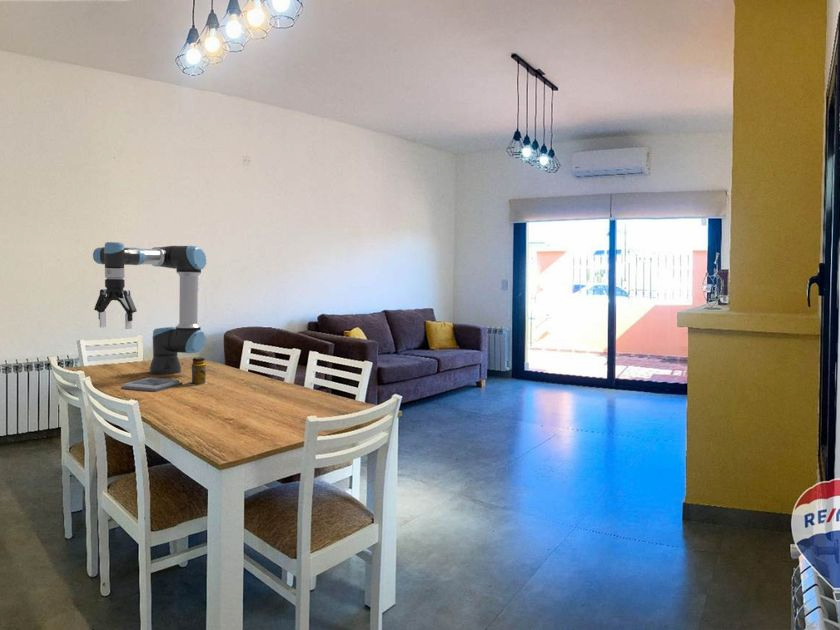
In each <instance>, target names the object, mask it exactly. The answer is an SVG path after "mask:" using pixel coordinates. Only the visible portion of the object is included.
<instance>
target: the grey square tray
mask: <svg viewBox="0 0 840 630" xmlns="http://www.w3.org/2000/svg"><path fill="white" fill-rule="evenodd" d="M183 383H184V382H181V381H180V380H179V379H171V378H159V377H146V378H141V379H139V380H134V381H130V382H126V383H124V385H121V387H120V388H121V389H124V390H131V391H132V390H133V391H140V392H141V391H142V392H151V391H153V392H154V393H155V392H160V391H163V390H167V389H171V388H174V387H178V386H183Z"/></svg>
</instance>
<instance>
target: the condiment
mask: <svg viewBox="0 0 840 630" xmlns="http://www.w3.org/2000/svg"><path fill="white" fill-rule="evenodd" d="M205 361H206V360H205V357H201V356H200V357H193V358H192V364H191V381H189V382H187V381H186V382H185V384H187V385H189V386H198V385H208V384H209V382H206V379H207V378H206V371H207V370H206V368H207V367H206V365H207V363H205Z"/></svg>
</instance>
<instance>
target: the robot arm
mask: <svg viewBox="0 0 840 630" xmlns="http://www.w3.org/2000/svg"><path fill="white" fill-rule="evenodd" d="M206 257H207V256H206V254H205V252H204V250H203V249H202V248H201V247H199V246H196V245H168V246H167V245H166V246H160V247H159V246H155V247H152V248H139V247H138V248H137V247H125V245H124V243H123V242H115V241H114V242H113V241H110V242H109V241H108V242H105V243H104V246H102V247H97V248H95V249H94V250H93V253H92V259H93V261H94V262H95V263H96V264H98V265H104V277H105V279H104V287H105V288H106V289H105V288H102V289H100V290H99V296H98V298H97V300H96V303H95V306H94V311H96V312H97V313H98V320H99V328H107V312H106V309H107V308H108V306H109V305H110V303H111V302H112V301H117V302H119V304H120V305H121V307H122V308H123V309H124V311H125V313H124V321H125V322H124V323H125V326H124V328H125V330H129V329H132V325H133V324H132V322H133V314H134V313H136V312H137V311H138V310H137V308H136V306H135V304H134V301H133V298H132V295H131V290H130V289H124V288H125V279H124V278H125V266H128V265H129V266H140V265H151V266H154V267H159V268H160V267H161V268H168V269H174V270H176V271H175V272H176V274H177V275H178V276H179V303H178V304H179V308H178V309H179V311H178V312H179V314H178V315H179V318H178V319H179V323H178V324H177V325H176V326H175V325H174V326H167V327H158V328H155V329H153V330H152V359H151V363H150V367H149V373H150V374H153V375H169V374H176V373H181V372H182V365H181V363H180V359H179V357H178V353H181V354H188V355H189V354H198V353H200V352H201V351H202V350H203V348H204V346H205V345H206V344H205V343H206V334H205V332H204V331H202V329H201V325H199V323H198V312H199V310H198V305H199V304H198V303H199V302H198V301H199V300H198V299H199V298H198V296H199V294H198V288H199V286H198V285H199V282H198V281H199V276H200V275H201V274H202V270H203V269H204V268H205V267H206V265H207V258H206Z"/></svg>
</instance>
